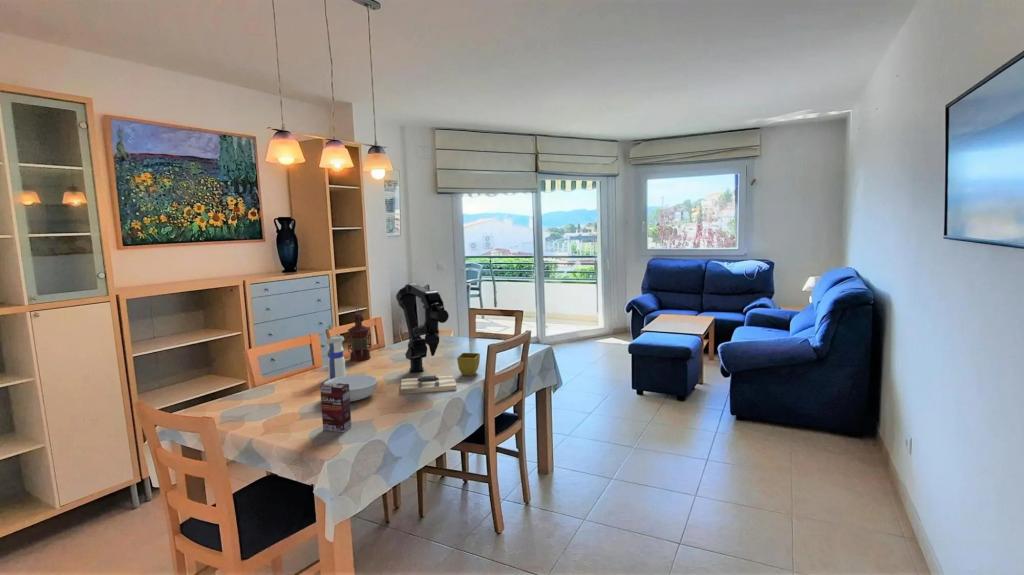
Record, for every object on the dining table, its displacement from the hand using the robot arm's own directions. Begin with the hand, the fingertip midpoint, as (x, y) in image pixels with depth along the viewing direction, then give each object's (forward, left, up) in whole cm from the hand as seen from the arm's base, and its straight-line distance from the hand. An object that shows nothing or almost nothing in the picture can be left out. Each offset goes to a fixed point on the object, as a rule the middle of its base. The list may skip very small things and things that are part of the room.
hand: (432, 353), depth 232 cm
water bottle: (-11, -44, -12) cm, 46 cm away
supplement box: (+50, -34, -12) cm, 62 cm away
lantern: (-44, -37, -12) cm, 58 cm away
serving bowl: (+18, -34, -12) cm, 40 cm away
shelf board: (+11, -2, -12) cm, 17 cm away
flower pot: (-3, +16, -12) cm, 21 cm away
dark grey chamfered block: (+8, -2, -12) cm, 15 cm away
